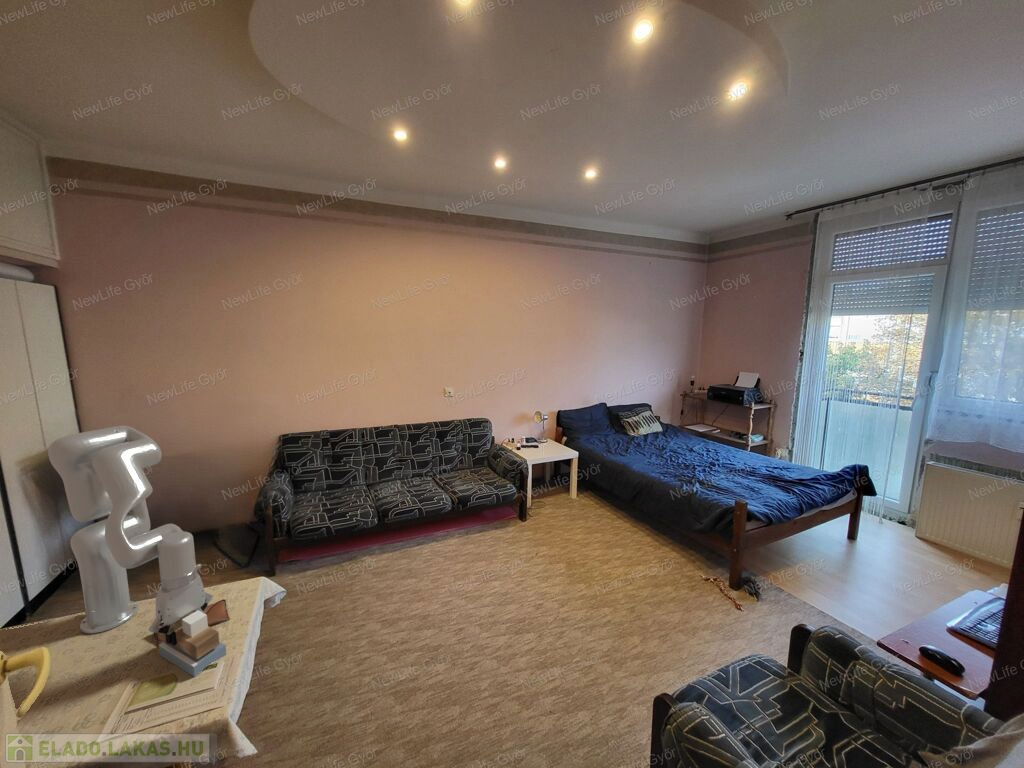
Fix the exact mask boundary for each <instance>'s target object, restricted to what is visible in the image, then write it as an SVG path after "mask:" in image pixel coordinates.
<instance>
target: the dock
mask: <svg viewBox="0 0 1024 768" xmlns="http://www.w3.org/2000/svg"><path fill="white" fill-rule="evenodd" d="M158 650H159V656H161V657H163V658H164V659H165V660H167V661H169V662H171V663H172V664H174V665H175V666H177V667H178V668H180V669H181V670H183V671H184V672H186V673H188V674H189V675H191V676H193V677H197V676H198V675H200V674H199V672H201V671H202V670H203V669H204V668H205V667H207V666H208V665H209V664H211V663H212V662H214V661H216V660H218V659H219V660H221V659H222V658H223V657H224V656H226V655H227V648H226V644H225V643H223V642H221V641H219V645H218V646H216V647H215V648H214V649H212V650H211V651H209V652H208V653H206V654H205V655H203V656H202V657H200V658H199V659H196V658H194V657H193V656H191V655H189V654H188V653H186V652H185V651H183V650H181V649H180V648H178V647H176V646H173V645H171V644H168V643H167V642H164V643H161V644H159V649H158ZM221 657H222V658H221ZM220 658H221V659H220ZM219 660H218V661H219ZM216 662H217V661H216ZM202 672H203V671H202ZM202 672H201V673H202ZM197 674H198V675H197ZM196 675H197V676H196Z"/></svg>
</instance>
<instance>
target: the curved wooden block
mask: <svg viewBox="0 0 1024 768" xmlns="http://www.w3.org/2000/svg"><path fill="white" fill-rule="evenodd" d="M187 616H189V615H187ZM187 616H185V617H187ZM185 617H183V618H181V619H180V620H178V621H176V623H175V626H174V630H173V631H175V632H176V642H177V644H176V645H175V646H176V647H178V648H180V649H181V650H183V651H185V652H186V653H188V654H189V655H191V656H193V657H194V658H196V659H199V658H200V657H202V656H203V655H205V654H206V653H208V652H209V651H211V650H212V649H214V648H215V647H216V646H218V645H219V642H220V635H219V634H220V633H219V631H218V630H216V629H214V628H212V627H209V626H208V628H206V629H205V630H203V631H201V632H200V633H198V634H197V635H195V636H194V637H190V636H188V635H187V634H185V633H183V626H182V619H184V618H185ZM163 625H164V624H163ZM163 625H161V626H163ZM162 636H163V638H164V639H165V640H166V638H165V634H164V633H162Z"/></svg>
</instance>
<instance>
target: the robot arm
mask: <svg viewBox="0 0 1024 768" xmlns="http://www.w3.org/2000/svg"><path fill="white" fill-rule="evenodd" d="M47 455H48V459H49V462H50V463H51V466H53V468H54V469H55V471H56V472H57V473H58V474H59V476H60V478H61V479H62V482H63V485H64V491H65V494H66V498H67V502H68V507H69V511H70V513H71V515H72V518H73V519H74V520H75V521H77V522H81V523H86V522H90V521H91V522H92V521H95V520H98V519H100V518H103V517H107V516H108V517H107V518H105V519H102V520H100V521H98V522H94V523H92V524H89V525H87V526H85V527H83V528H80V529H79V530H78V531H76V532H75V533H74V534H73V535H72V536H71V538H70V548H71V550H72V553H73V555H74V557H75V560H76V562H77V565H78V570H79V575H80V577H79V578H80V582H81V589H82V594H83V595H82V596H83V601H84V602H83V603H84V608H85V615H86V616H85V617H84V618H83V619H82V620H81V622H80V625H79V628H80V632H82V633H84V634H99V633H102V632H103V633H104V632H107V631H109V630H112V629H114V628H117V627H118V626H120V625H123V624H125V623H126V622H128V621H129V620H130V619H131V618H133V617H134V616H135V614H137V612H138V610H139V609H138V608H139V607H138V603H137V602H135V601H132V600H130V599H131V597H130V590H129V583H128V581H129V580H128V574H127V570H128V569H129V570H130V569H135V568H137V567H139V566H142V565H143V564H146V563H148V562H150V561H152V560H155V559H157V558H158V566H159V575H160V576H159V577H160V585H161V586H159V587H158V589H157V590H156V596H155V618H154V620H153V622H152V623H151V624H150V626H149V628H148V632H151V633H154V632H155V633H164V634H165V638H166V642H167V643H168V644H171V645H173V646H175V645H176V644H177V642H176V632H175V631H173V630H174V626H175V623H176V621H178V620H180V619H181V618H183V617H185V616H187V615H188V614H190V613H192V612H193V613H194V612H196V611H197V610H199V611H201V612H203V611H204V610H205V608H206V607H207V606H208V604H209V603H210V602H211V600H212V599H213V597H214V595H213V594H211V593H207V592H205V588H204V583H203V581H202V578H201V576H200V573H198V570H200V569H201V568H202V564H201V563H196V552H195V542H194V536H193V534H192V532H188V531H184V530H182V529H181V527H180V526H178V525H177V524H174V523H167V524H163V525H161V526H158V527H156V528H154V529H151V520H150V515H149V509H148V506H147V501H146V500H147V498H149V497H150V496H151V494H152V493H153V490H154V489H153V486H152V485H151V483H150V481H149V479H148V477H147V476H146V474H145V472H144V470H143V469H146V468H147V467H152V466H154V465H157V464H158V463H160V461H161V460H162V455H163V454H162V450H161V447H160V446H159V444H157V442H156V441H155V440H154V439H152V438H151V437H150V436H148V435H147V434H145V433H143V432H141V431H140V430H137V429H136V428H134V427H132V426H128V425H115V426H110V427H105V428H99V429H95V430H87V431H84V432H79V433H73V434H69V435H66V436H63V437H59V438H57V439H55V440H53V441H52V442H51V443H50V445H49V447H48V452H47ZM132 603H137V604H133V605H128V604H132ZM92 611H95V612H92ZM203 613H204V612H203ZM163 622H164V625H163V626H159V625H160V623H163Z"/></svg>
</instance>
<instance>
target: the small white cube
mask: <svg viewBox="0 0 1024 768" xmlns="http://www.w3.org/2000/svg"><path fill="white" fill-rule="evenodd" d="M182 626H183V633H185V634H187V635H188V636H190V637H194V636H195V635H197V634H198V633H200V632H201V631H203V630H205V629H206V628H208V622H207V615H206V614H204V613H203V612H201V611H199V610H197V611H196V612H194V613H192V614H190V615H189V616H187V617H185V618H184V619H182Z"/></svg>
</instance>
